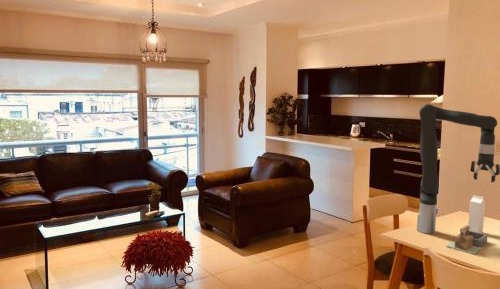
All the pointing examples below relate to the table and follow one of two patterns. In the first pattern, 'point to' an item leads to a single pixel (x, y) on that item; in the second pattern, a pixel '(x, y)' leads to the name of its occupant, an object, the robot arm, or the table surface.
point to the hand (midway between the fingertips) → (484, 180)
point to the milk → (476, 214)
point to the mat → (472, 250)
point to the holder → (478, 238)
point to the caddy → (464, 239)
